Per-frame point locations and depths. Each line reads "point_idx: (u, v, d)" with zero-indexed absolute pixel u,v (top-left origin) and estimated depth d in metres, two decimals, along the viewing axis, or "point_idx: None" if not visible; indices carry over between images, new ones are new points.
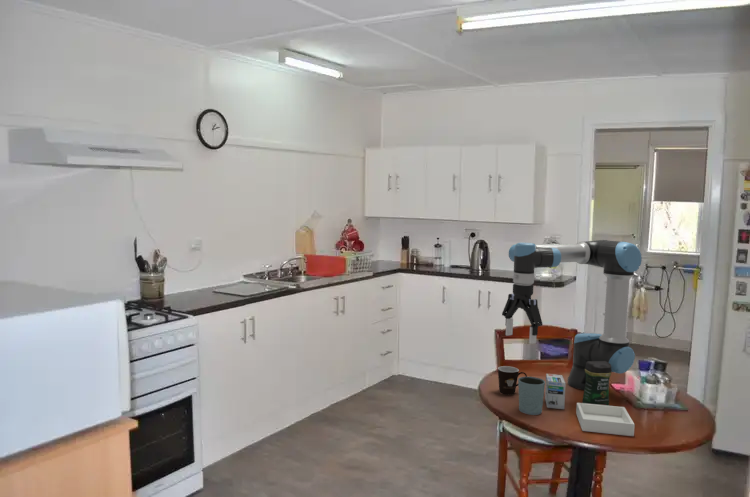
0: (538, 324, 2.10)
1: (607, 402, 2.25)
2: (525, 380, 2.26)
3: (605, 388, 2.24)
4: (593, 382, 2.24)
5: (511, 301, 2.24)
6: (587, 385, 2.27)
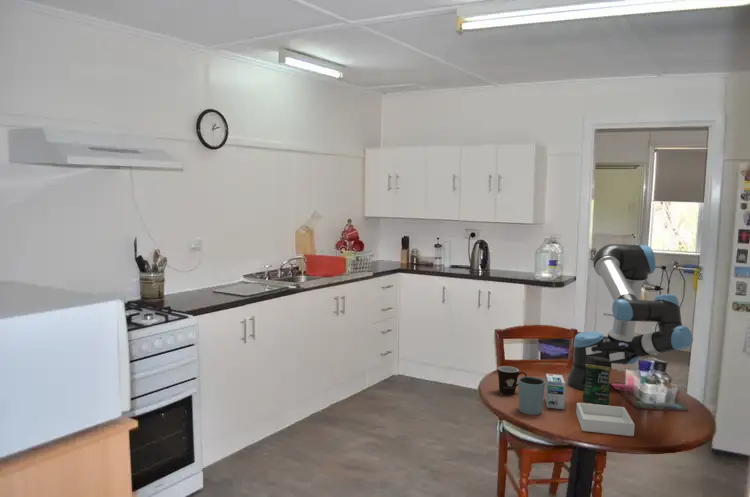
0: None
1: (607, 397, 2.26)
2: (525, 380, 2.26)
3: (606, 382, 2.27)
4: (593, 375, 2.27)
5: None
6: (587, 379, 2.29)
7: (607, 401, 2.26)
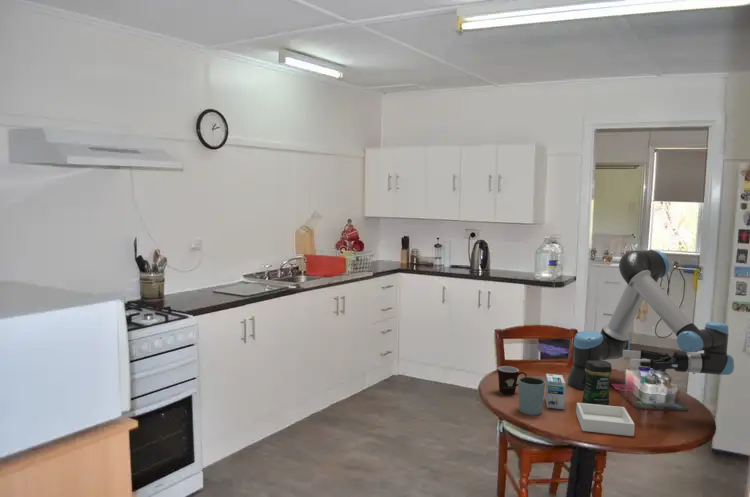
0: None
1: (607, 402, 2.25)
2: (525, 380, 2.26)
3: (605, 387, 2.24)
4: (592, 381, 2.25)
5: None
6: (587, 384, 2.27)
7: None
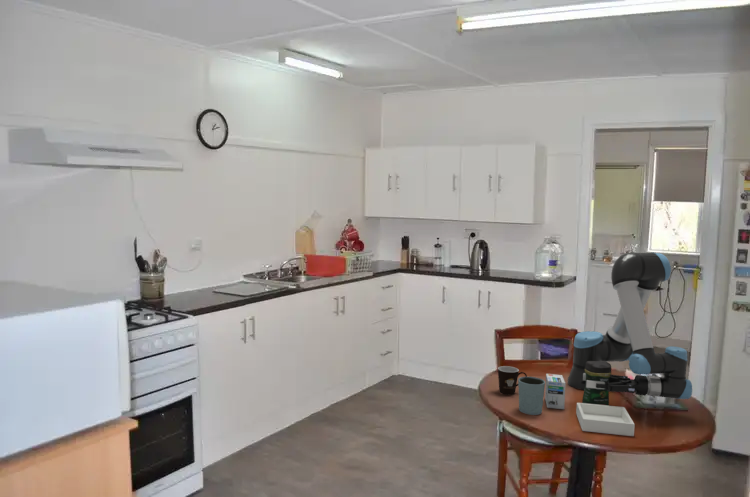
0: None
1: (607, 402, 2.25)
2: (525, 380, 2.26)
3: None
4: None
5: None
6: None
7: None
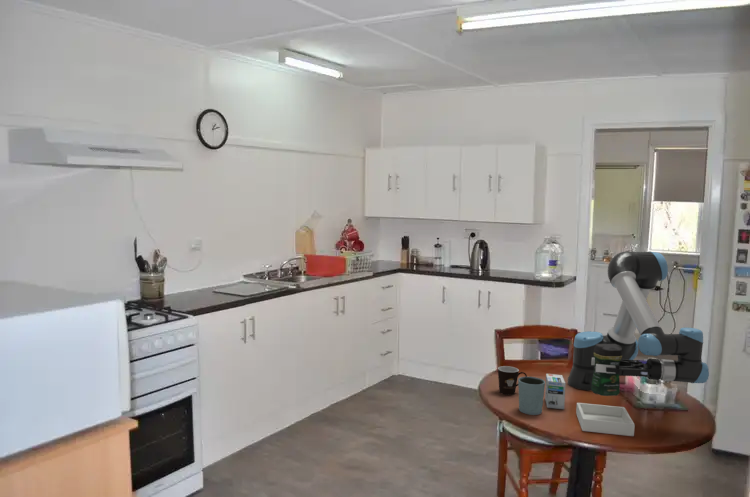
0: None
1: (617, 387, 2.11)
2: (525, 380, 2.26)
3: None
4: None
5: None
6: None
7: (617, 391, 2.11)
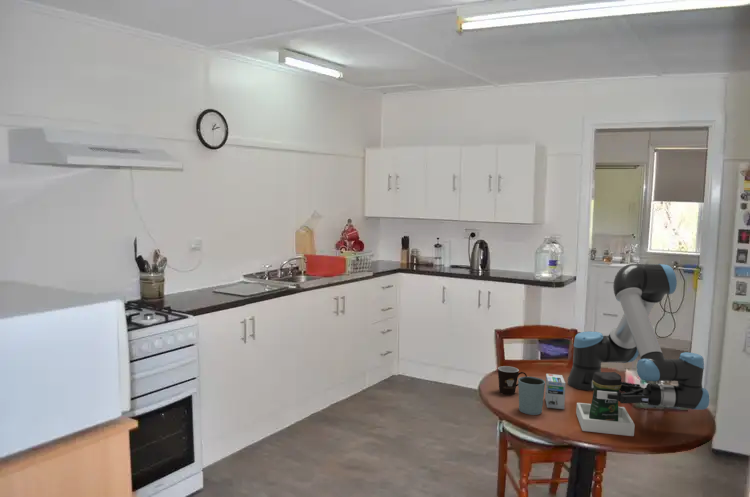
0: None
1: (616, 417, 2.08)
2: (525, 380, 2.26)
3: (614, 401, 2.07)
4: None
5: None
6: (594, 398, 2.10)
7: (616, 420, 2.08)
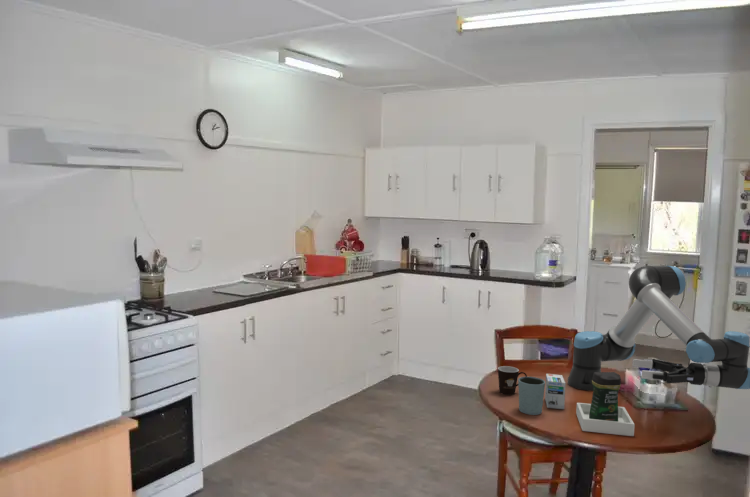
0: None
1: (616, 417, 2.08)
2: (525, 380, 2.26)
3: (614, 401, 2.07)
4: (600, 395, 2.07)
5: None
6: (594, 398, 2.10)
7: (615, 420, 2.08)
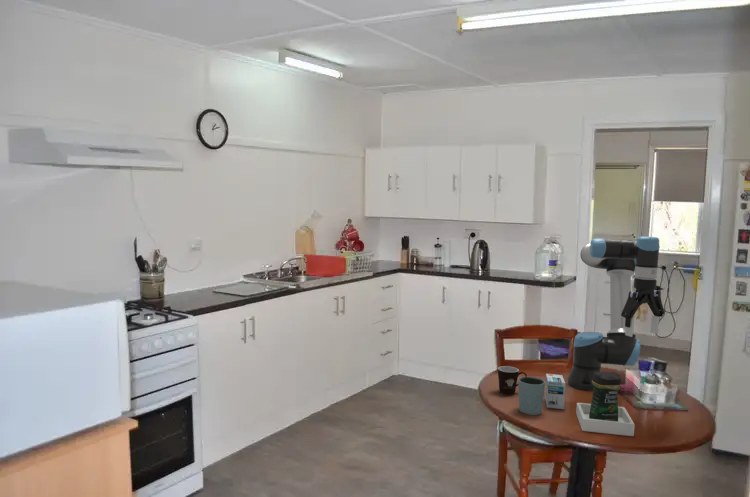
0: None
1: (616, 417, 2.08)
2: (525, 380, 2.26)
3: (614, 401, 2.07)
4: (600, 395, 2.07)
5: None
6: (594, 398, 2.10)
7: (615, 420, 2.08)
